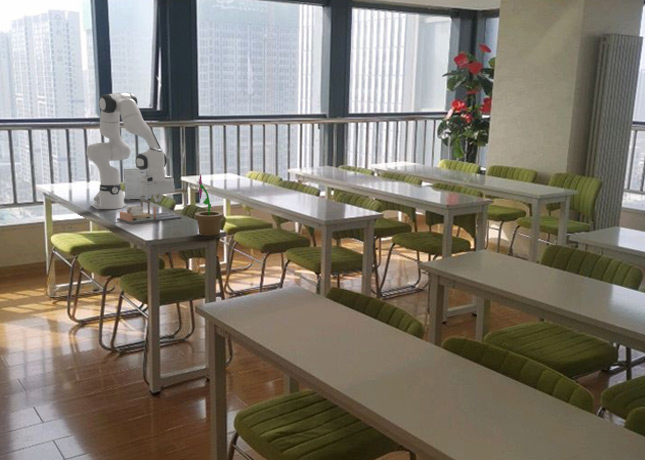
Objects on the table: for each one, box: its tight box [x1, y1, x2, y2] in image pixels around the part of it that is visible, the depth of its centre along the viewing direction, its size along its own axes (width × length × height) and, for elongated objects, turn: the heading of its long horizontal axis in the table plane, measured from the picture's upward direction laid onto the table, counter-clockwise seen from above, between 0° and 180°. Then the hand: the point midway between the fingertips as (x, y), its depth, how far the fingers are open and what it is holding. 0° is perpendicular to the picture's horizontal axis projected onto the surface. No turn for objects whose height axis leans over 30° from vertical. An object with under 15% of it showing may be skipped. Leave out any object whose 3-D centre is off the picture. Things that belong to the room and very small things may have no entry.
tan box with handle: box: [126, 199, 152, 220], centre depth 386 cm, size 10×11×10 cm
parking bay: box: [119, 206, 157, 222], centre depth 386 cm, size 16×15×7 cm
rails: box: [133, 211, 176, 221], centre depth 392 cm, size 8×28×1 cm, turn 132°
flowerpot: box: [194, 173, 224, 237], centre depth 353 cm, size 14×14×30 cm
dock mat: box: [116, 212, 182, 226], centre depth 392 cm, size 17×30×1 cm, turn 132°
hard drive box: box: [123, 167, 153, 200], centre depth 457 cm, size 16×8×20 cm, turn 84°
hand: (157, 202), depth 394 cm, fingers closed
